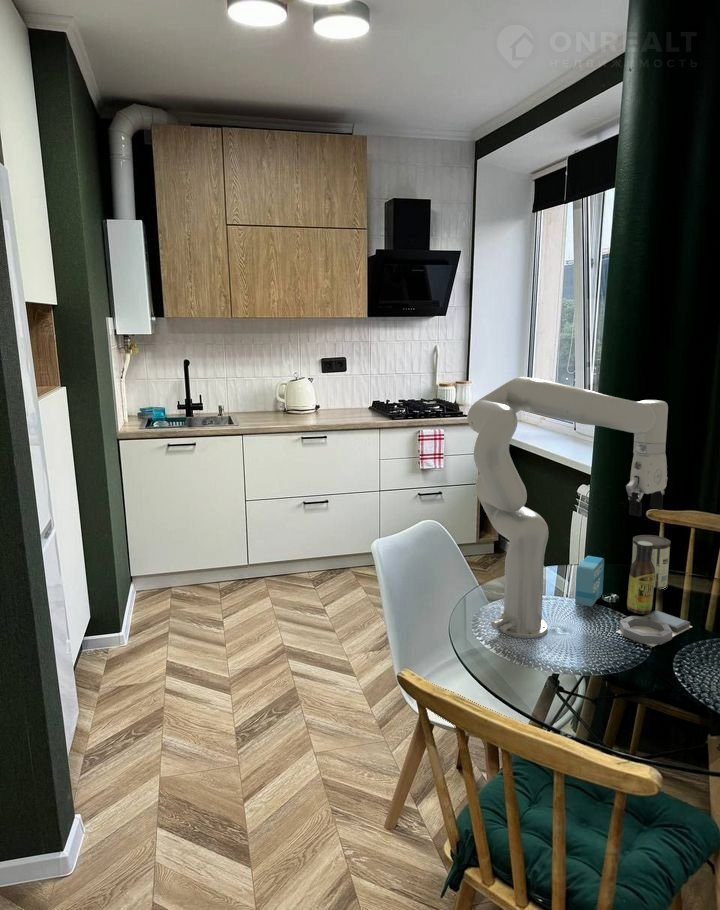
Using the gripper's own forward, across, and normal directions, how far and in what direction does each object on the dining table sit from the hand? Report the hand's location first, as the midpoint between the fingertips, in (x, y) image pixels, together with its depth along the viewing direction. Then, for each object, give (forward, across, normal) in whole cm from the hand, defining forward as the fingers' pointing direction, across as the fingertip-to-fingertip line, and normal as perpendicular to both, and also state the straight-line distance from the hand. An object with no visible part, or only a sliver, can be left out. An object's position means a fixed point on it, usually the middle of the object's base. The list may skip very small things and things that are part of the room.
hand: (645, 512), depth 170 cm
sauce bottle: (+29, 0, 0) cm, 29 cm away
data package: (+29, -4, +13) cm, 32 cm away
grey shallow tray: (+28, -8, -9) cm, 31 cm away
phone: (+27, -3, -9) cm, 29 cm away
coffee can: (+29, +21, +10) cm, 37 cm away
